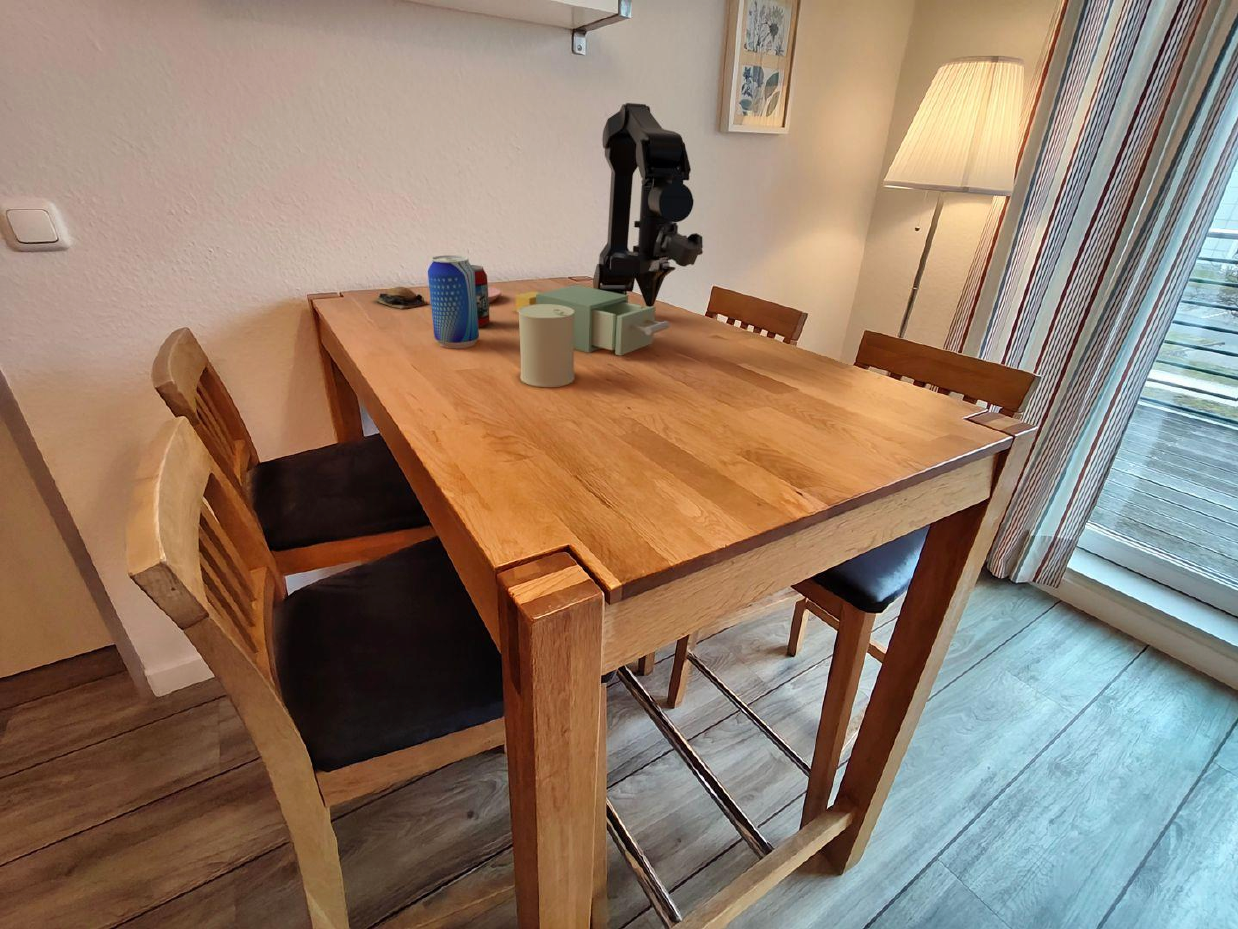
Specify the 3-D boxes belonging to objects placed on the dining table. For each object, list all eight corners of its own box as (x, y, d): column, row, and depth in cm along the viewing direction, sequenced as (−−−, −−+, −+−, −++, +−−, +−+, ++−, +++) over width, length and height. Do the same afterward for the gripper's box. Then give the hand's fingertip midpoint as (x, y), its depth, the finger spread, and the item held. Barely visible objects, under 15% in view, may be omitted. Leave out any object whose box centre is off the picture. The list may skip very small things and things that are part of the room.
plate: (513, 299, 149) (512, 291, 148) (472, 309, 139) (472, 300, 138) (472, 290, 156) (471, 282, 155) (430, 299, 145) (429, 291, 144)
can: (552, 391, 95) (551, 317, 89) (509, 379, 99) (505, 307, 93) (585, 376, 102) (586, 307, 96) (543, 365, 106) (542, 298, 100)
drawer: (674, 348, 116) (677, 311, 112) (642, 361, 107) (644, 322, 104) (603, 330, 124) (605, 295, 121) (569, 341, 116) (569, 304, 113)
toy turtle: (372, 302, 140) (370, 286, 139) (402, 296, 147) (400, 281, 145) (400, 310, 135) (398, 293, 133) (430, 304, 141) (428, 288, 140)
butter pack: (547, 311, 140) (547, 294, 138) (529, 315, 136) (529, 298, 134) (533, 307, 143) (533, 291, 141) (516, 312, 138) (515, 295, 136)
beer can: (487, 340, 117) (482, 257, 110) (464, 352, 110) (457, 264, 103) (451, 335, 120) (443, 252, 112) (426, 345, 113) (416, 259, 105)
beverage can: (482, 329, 124) (478, 271, 118) (452, 326, 125) (447, 268, 119) (494, 322, 130) (491, 265, 124) (466, 319, 131) (461, 263, 125)
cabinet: (626, 339, 123) (628, 295, 118) (588, 352, 113) (589, 305, 109) (576, 326, 129) (576, 284, 125) (537, 338, 120) (536, 293, 116)
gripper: (667, 223, 91) (659, 323, 98) (722, 217, 104) (711, 305, 112) (609, 216, 96) (606, 311, 104) (669, 211, 110) (662, 295, 117)
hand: (649, 306), depth 109 cm, fingers closed
